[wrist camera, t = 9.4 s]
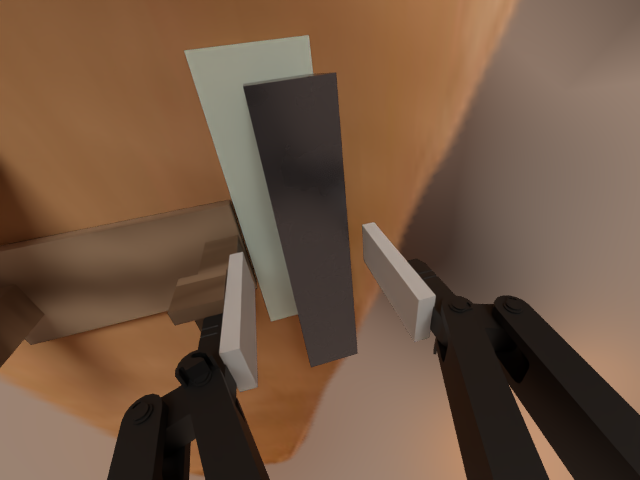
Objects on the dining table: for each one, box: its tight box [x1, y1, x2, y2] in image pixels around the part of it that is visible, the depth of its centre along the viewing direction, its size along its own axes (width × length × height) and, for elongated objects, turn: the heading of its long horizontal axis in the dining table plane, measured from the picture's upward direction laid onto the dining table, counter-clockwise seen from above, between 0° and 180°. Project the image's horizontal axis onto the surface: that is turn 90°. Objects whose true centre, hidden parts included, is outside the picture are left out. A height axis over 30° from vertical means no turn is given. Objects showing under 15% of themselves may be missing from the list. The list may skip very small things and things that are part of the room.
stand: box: [0, 200, 258, 378], centre depth 17 cm, size 8×18×10 cm, turn 98°
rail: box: [243, 73, 357, 367], centre depth 19 cm, size 4×20×6 cm, turn 8°
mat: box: [184, 35, 313, 321], centre depth 21 cm, size 22×7×1 cm, turn 8°
